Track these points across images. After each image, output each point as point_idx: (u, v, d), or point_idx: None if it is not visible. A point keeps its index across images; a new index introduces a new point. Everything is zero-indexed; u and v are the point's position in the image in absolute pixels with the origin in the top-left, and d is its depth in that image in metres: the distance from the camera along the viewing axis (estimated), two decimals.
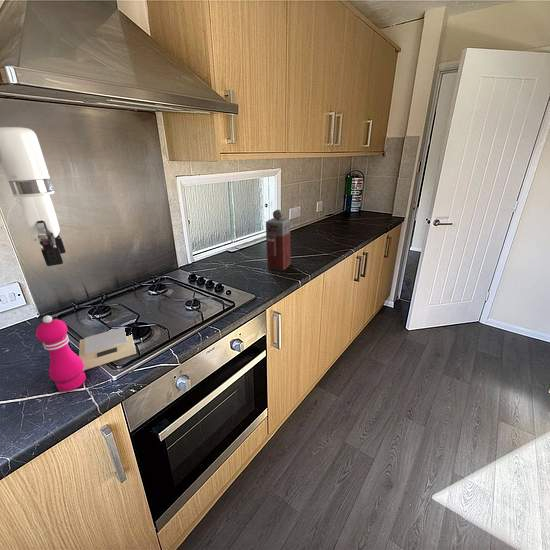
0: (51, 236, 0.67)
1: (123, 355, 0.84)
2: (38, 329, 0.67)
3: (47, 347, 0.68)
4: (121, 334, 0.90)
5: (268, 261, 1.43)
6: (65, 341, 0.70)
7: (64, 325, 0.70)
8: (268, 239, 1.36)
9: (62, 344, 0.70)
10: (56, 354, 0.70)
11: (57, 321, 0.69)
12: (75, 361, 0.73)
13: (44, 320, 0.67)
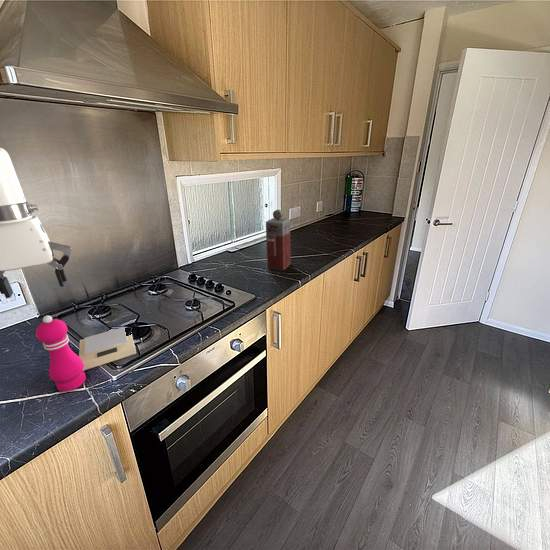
0: None
1: (123, 355, 0.84)
2: (38, 329, 0.67)
3: (47, 347, 0.68)
4: (121, 334, 0.90)
5: (268, 261, 1.43)
6: (65, 341, 0.70)
7: (64, 325, 0.70)
8: (268, 239, 1.36)
9: (62, 344, 0.70)
10: (56, 354, 0.70)
11: (57, 321, 0.69)
12: (75, 361, 0.73)
13: (44, 320, 0.67)
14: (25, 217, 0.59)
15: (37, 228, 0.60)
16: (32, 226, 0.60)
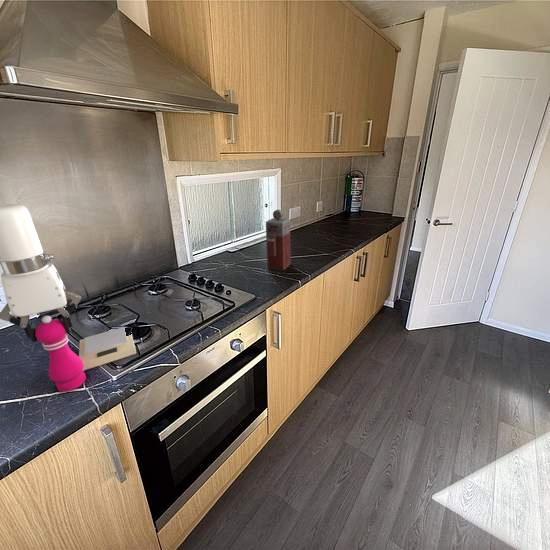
0: None
1: (123, 355, 0.84)
2: (37, 329, 0.67)
3: (46, 347, 0.68)
4: (121, 334, 0.90)
5: (268, 261, 1.43)
6: (64, 341, 0.70)
7: (63, 325, 0.70)
8: (268, 239, 1.36)
9: (61, 344, 0.69)
10: (56, 354, 0.70)
11: (56, 321, 0.69)
12: (75, 361, 0.73)
13: (43, 320, 0.67)
14: (42, 267, 0.63)
15: (53, 276, 0.65)
16: (49, 275, 0.64)
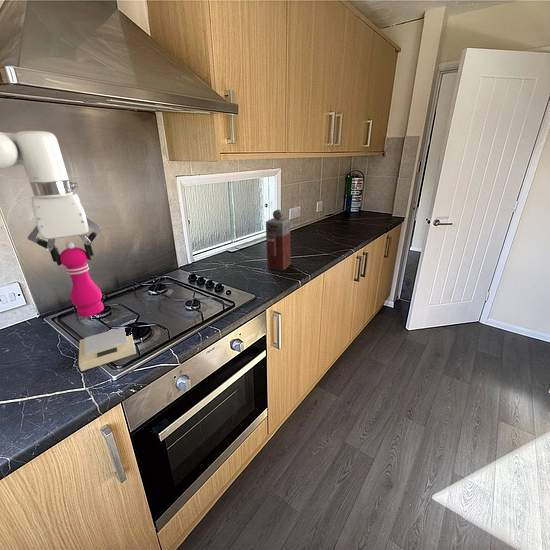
0: (48, 238, 0.71)
1: (123, 355, 0.84)
2: (62, 253, 0.73)
3: (70, 271, 0.74)
4: (121, 334, 0.90)
5: (268, 261, 1.43)
6: (86, 268, 0.76)
7: (85, 252, 0.76)
8: (268, 239, 1.36)
9: (83, 270, 0.76)
10: (78, 279, 0.76)
11: (79, 248, 0.75)
12: (95, 289, 0.79)
13: (67, 245, 0.73)
14: (68, 193, 0.69)
15: (77, 203, 0.71)
16: (73, 201, 0.70)
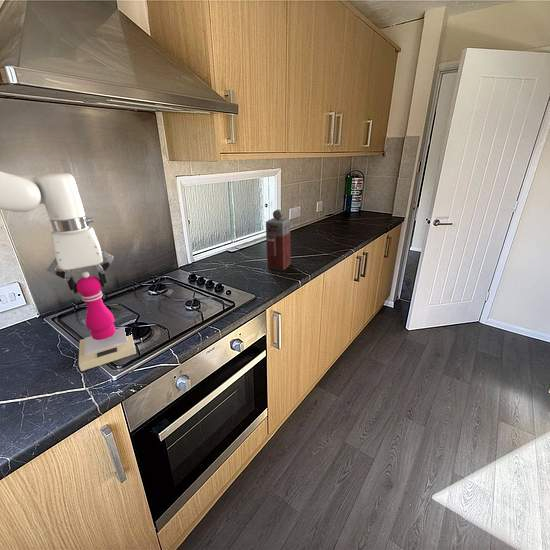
0: (65, 269, 0.76)
1: (123, 355, 0.84)
2: (78, 282, 0.78)
3: (85, 299, 0.79)
4: (121, 334, 0.90)
5: (268, 261, 1.43)
6: (100, 295, 0.81)
7: (99, 281, 0.81)
8: (268, 239, 1.36)
9: (97, 297, 0.81)
10: (92, 306, 0.81)
11: (93, 277, 0.80)
12: (108, 314, 0.84)
13: (83, 275, 0.78)
14: (85, 227, 0.74)
15: (93, 236, 0.76)
16: (89, 235, 0.75)
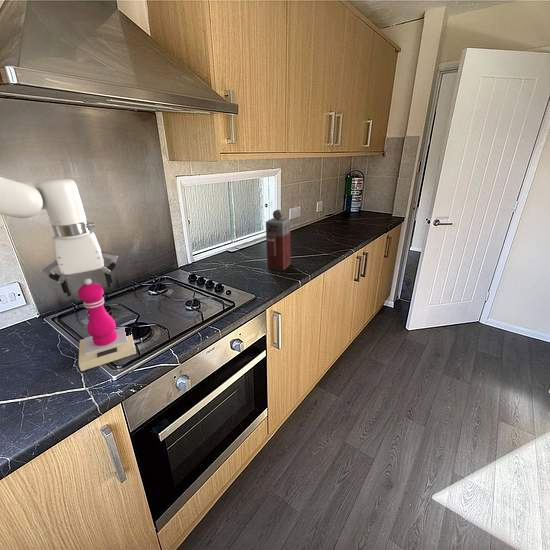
0: None
1: (123, 355, 0.84)
2: (80, 289, 0.79)
3: (87, 305, 0.80)
4: (121, 334, 0.90)
5: (268, 261, 1.43)
6: (102, 301, 0.82)
7: (101, 287, 0.82)
8: (268, 239, 1.36)
9: (99, 303, 0.82)
10: (94, 312, 0.82)
11: (95, 284, 0.81)
12: (110, 320, 0.85)
13: (85, 282, 0.79)
14: (86, 232, 0.75)
15: (94, 241, 0.76)
16: (91, 240, 0.76)
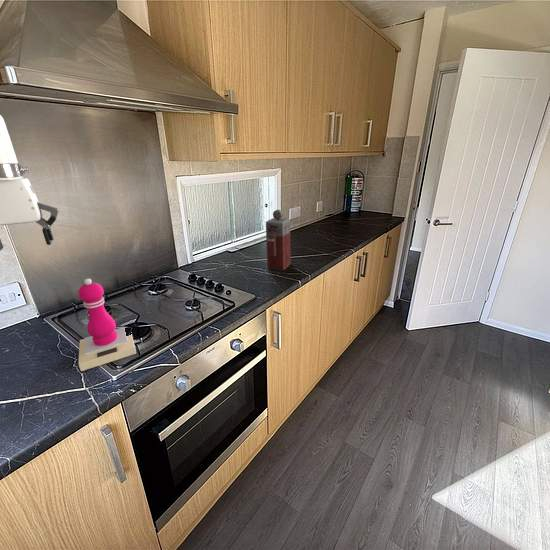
0: None
1: (123, 355, 0.84)
2: (80, 289, 0.79)
3: (87, 305, 0.80)
4: (121, 334, 0.90)
5: (268, 261, 1.43)
6: (102, 301, 0.82)
7: (101, 287, 0.82)
8: (268, 239, 1.36)
9: (99, 303, 0.82)
10: (94, 312, 0.82)
11: (95, 284, 0.81)
12: (110, 320, 0.85)
13: (85, 282, 0.79)
14: (16, 176, 0.65)
15: (27, 188, 0.67)
16: (22, 186, 0.66)
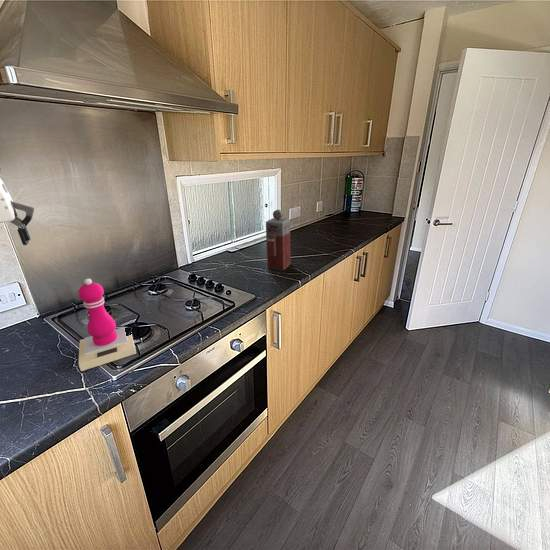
0: None
1: (123, 355, 0.84)
2: (80, 289, 0.79)
3: (87, 305, 0.80)
4: (121, 334, 0.90)
5: (268, 261, 1.43)
6: (102, 301, 0.82)
7: (101, 287, 0.82)
8: (268, 239, 1.36)
9: (99, 303, 0.82)
10: (94, 312, 0.82)
11: (96, 284, 0.81)
12: (110, 320, 0.85)
13: (85, 282, 0.79)
14: None
15: None
16: None
